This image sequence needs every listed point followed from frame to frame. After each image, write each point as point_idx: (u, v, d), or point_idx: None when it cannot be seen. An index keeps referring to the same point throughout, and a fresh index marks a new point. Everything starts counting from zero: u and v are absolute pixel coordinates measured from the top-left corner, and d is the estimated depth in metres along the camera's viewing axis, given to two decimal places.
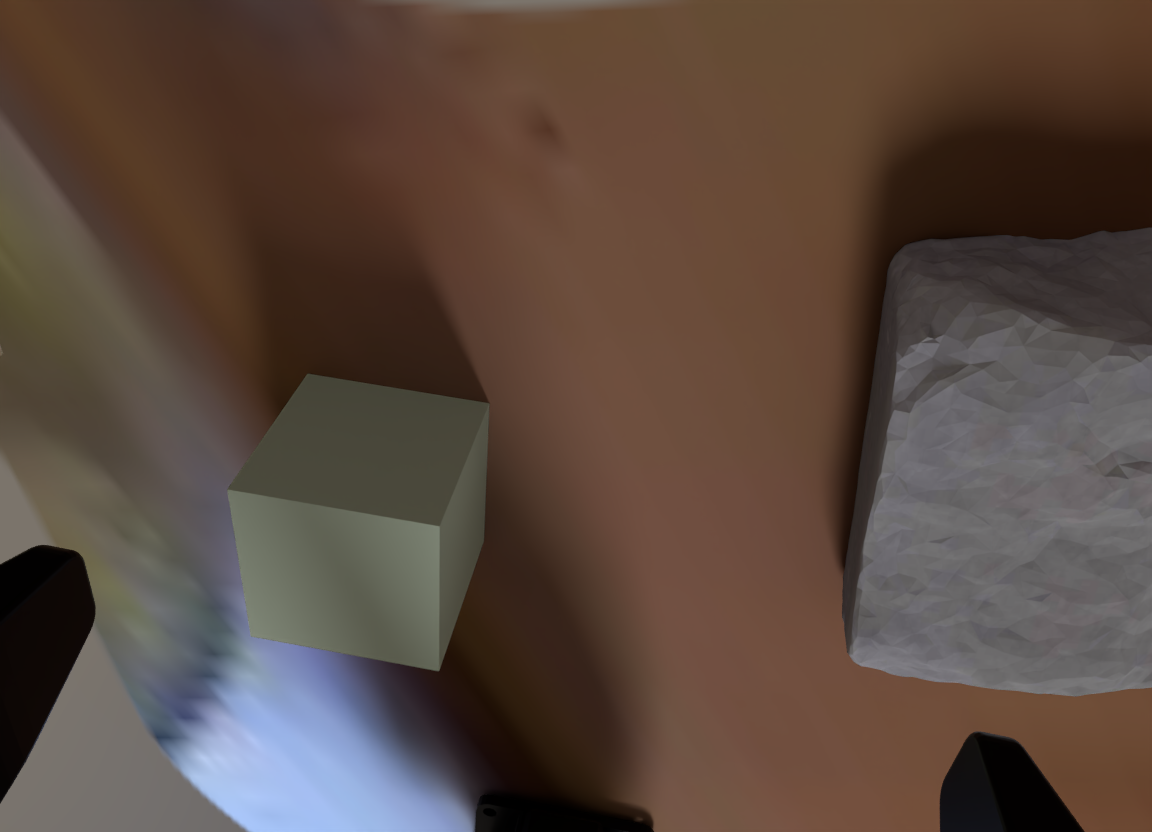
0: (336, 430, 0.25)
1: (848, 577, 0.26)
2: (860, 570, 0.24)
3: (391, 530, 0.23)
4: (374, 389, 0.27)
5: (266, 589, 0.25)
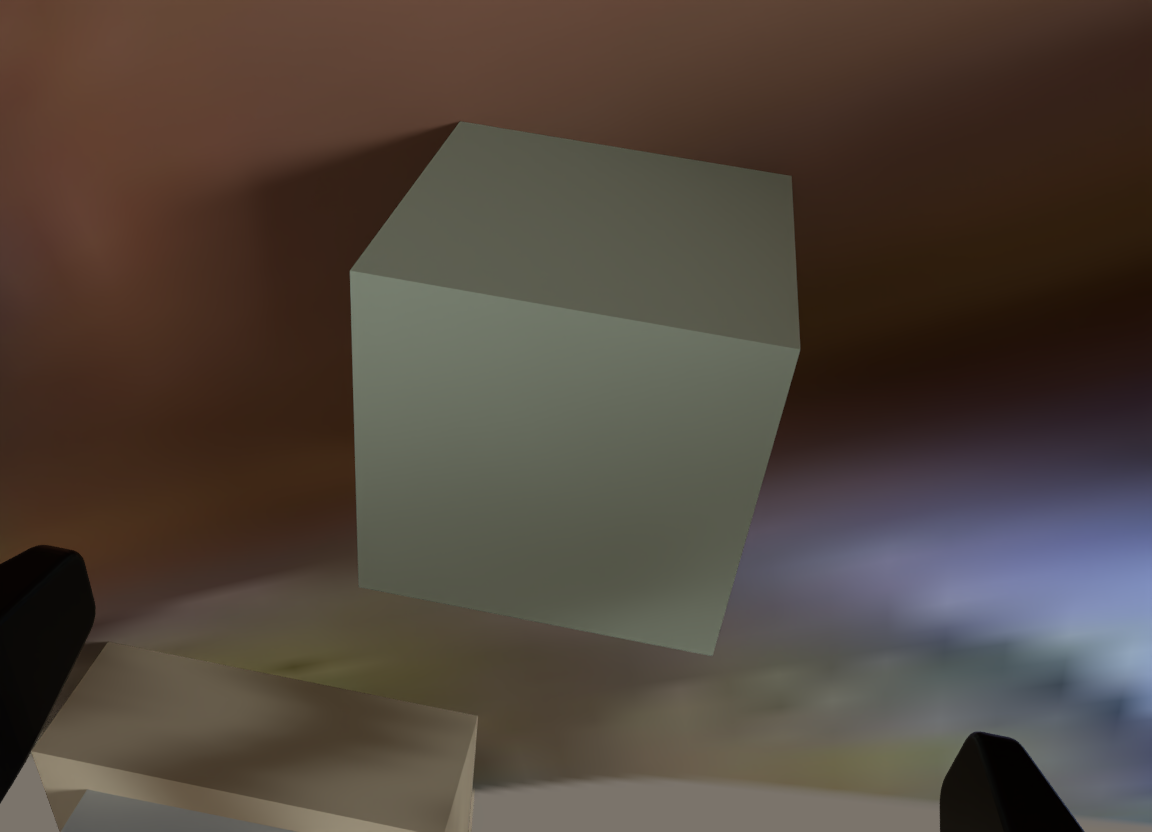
0: None
1: None
2: None
3: (384, 362, 0.12)
4: None
5: (581, 599, 0.13)
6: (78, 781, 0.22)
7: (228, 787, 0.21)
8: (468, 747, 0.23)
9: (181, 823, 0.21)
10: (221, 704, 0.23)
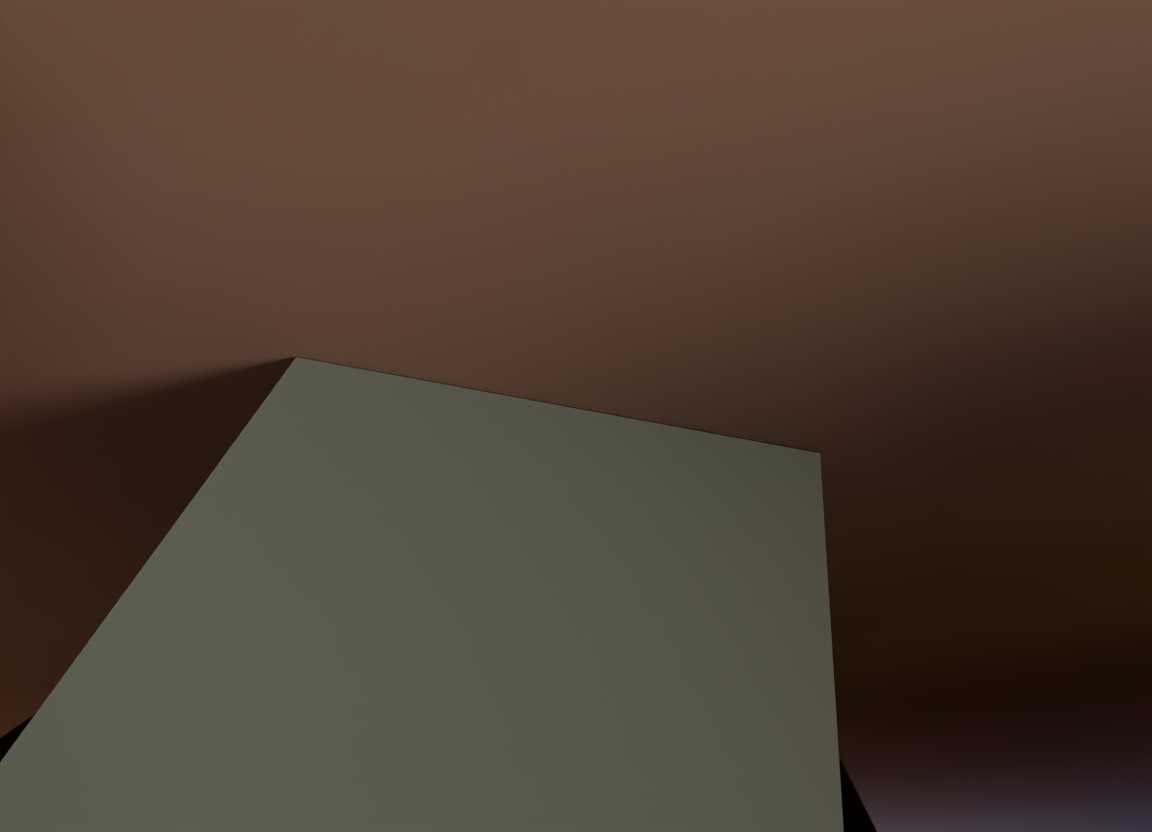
0: None
1: None
2: None
3: None
4: None
5: None
6: None
7: None
8: None
9: None
10: None
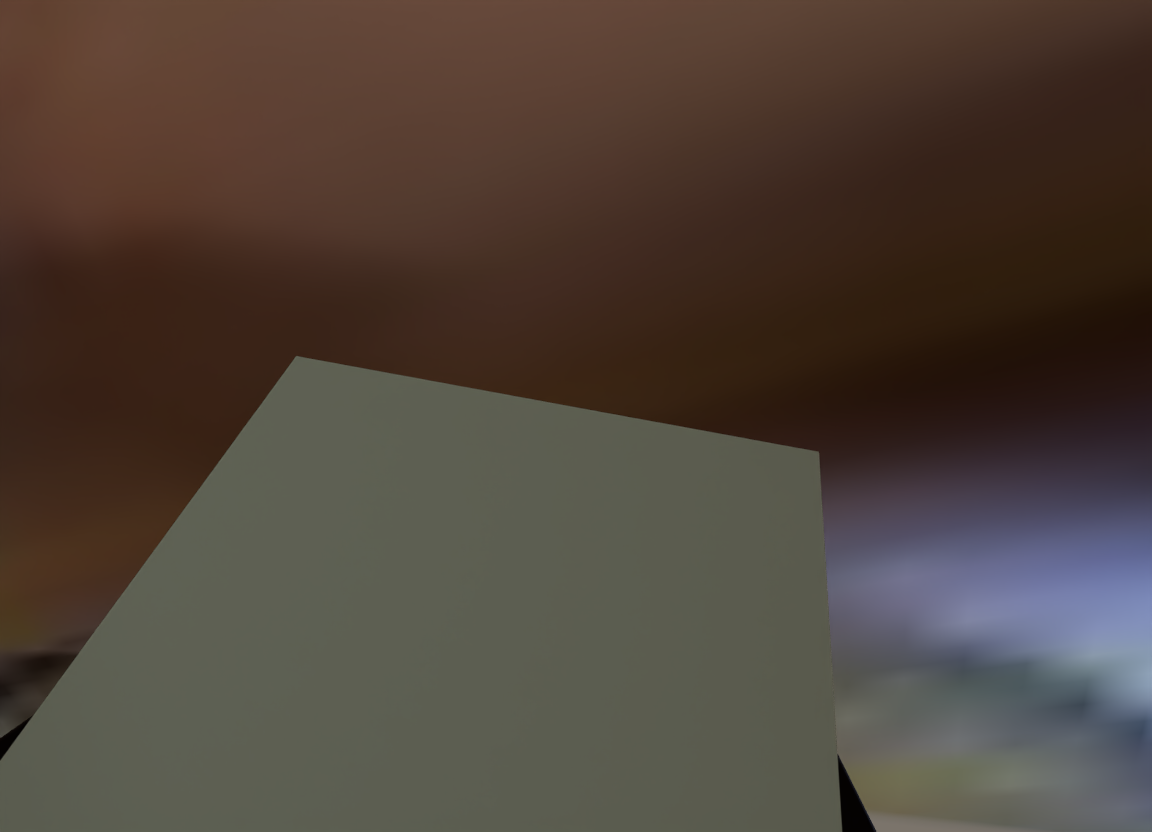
0: None
1: None
2: None
3: None
4: None
5: None
6: None
7: None
8: None
9: None
10: None
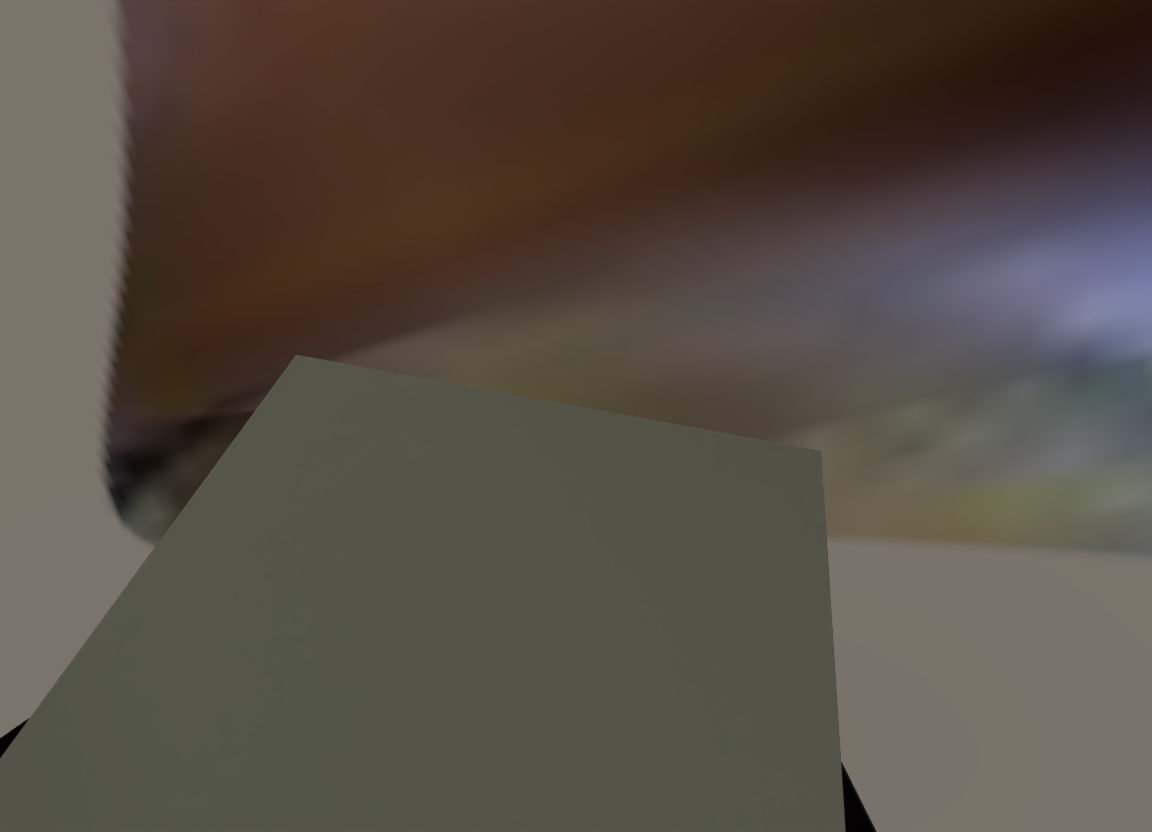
0: None
1: None
2: None
3: None
4: None
5: None
6: None
7: None
8: None
9: None
10: None
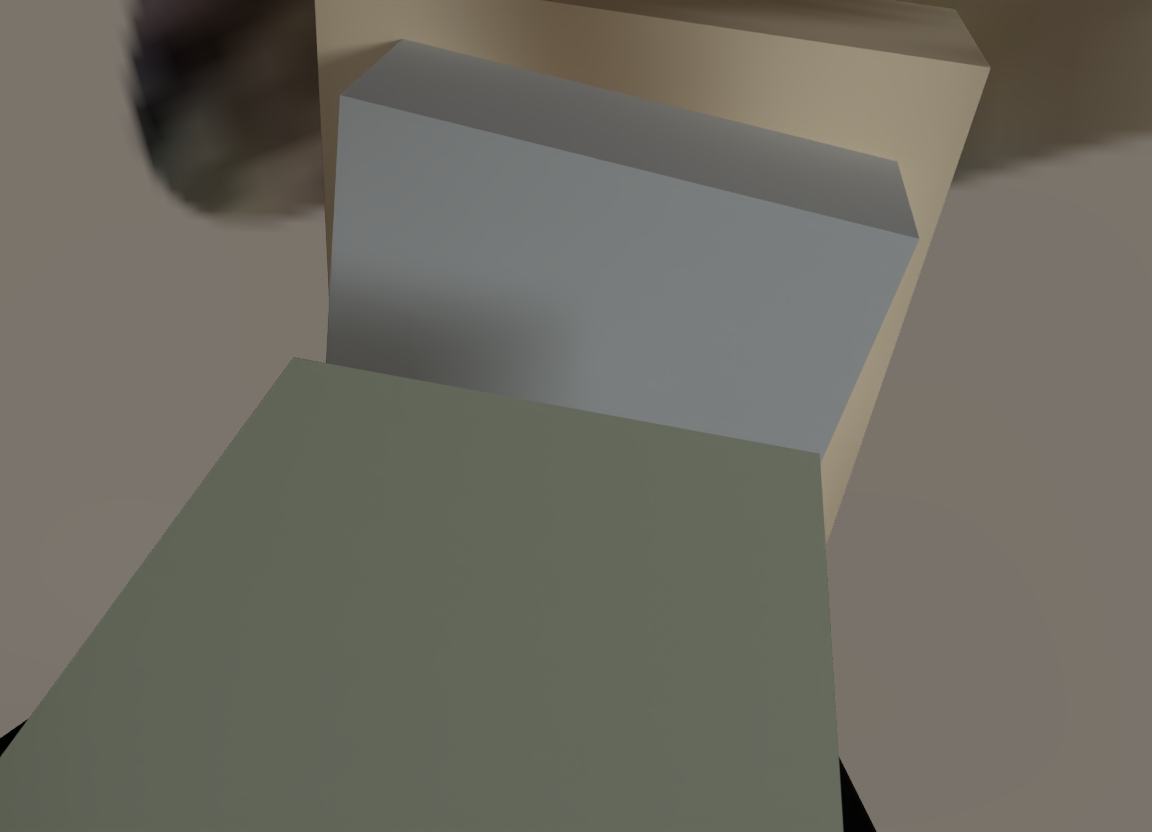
0: None
1: None
2: None
3: None
4: None
5: None
6: (379, 36, 0.14)
7: (631, 11, 0.13)
8: None
9: (561, 86, 0.13)
10: None
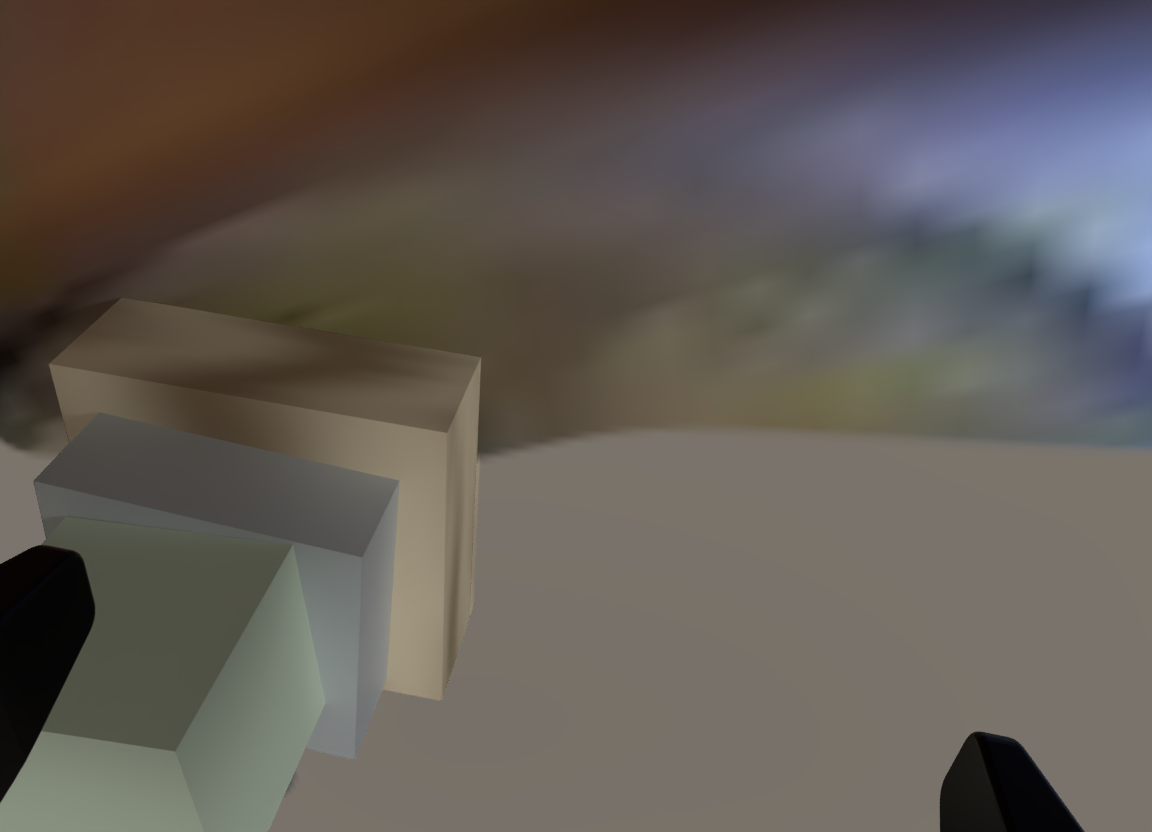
0: None
1: None
2: None
3: None
4: None
5: None
6: (94, 399, 0.22)
7: (238, 393, 0.22)
8: (471, 377, 0.23)
9: (191, 443, 0.22)
10: (231, 340, 0.23)
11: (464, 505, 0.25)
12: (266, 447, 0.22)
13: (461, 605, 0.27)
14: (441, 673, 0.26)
